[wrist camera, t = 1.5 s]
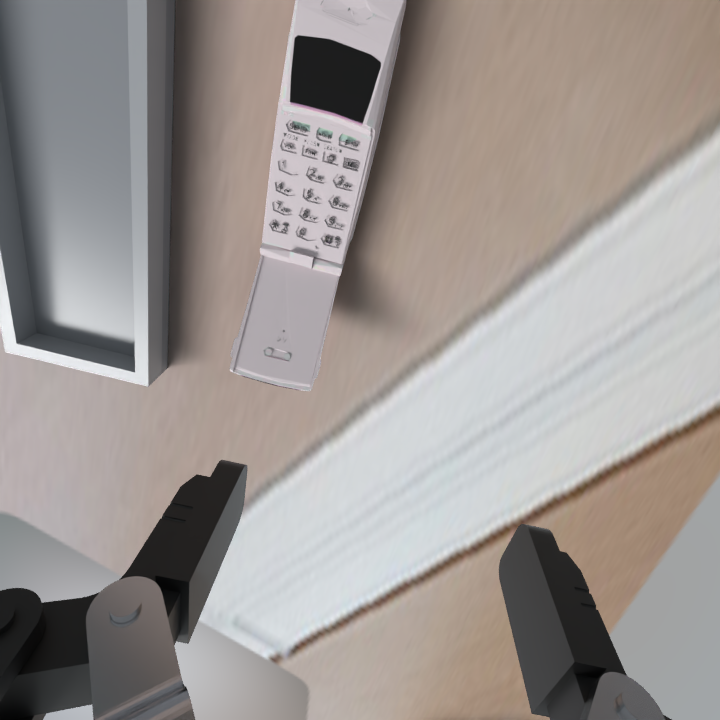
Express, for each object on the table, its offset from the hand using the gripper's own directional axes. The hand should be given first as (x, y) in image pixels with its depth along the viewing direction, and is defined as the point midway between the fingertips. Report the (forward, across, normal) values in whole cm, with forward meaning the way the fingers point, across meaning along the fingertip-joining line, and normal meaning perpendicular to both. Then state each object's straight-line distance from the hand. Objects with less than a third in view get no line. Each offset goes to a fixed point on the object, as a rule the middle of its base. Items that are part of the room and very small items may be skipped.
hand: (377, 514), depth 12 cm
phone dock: (+20, +22, -5) cm, 30 cm away
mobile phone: (+21, +6, -6) cm, 23 cm away
